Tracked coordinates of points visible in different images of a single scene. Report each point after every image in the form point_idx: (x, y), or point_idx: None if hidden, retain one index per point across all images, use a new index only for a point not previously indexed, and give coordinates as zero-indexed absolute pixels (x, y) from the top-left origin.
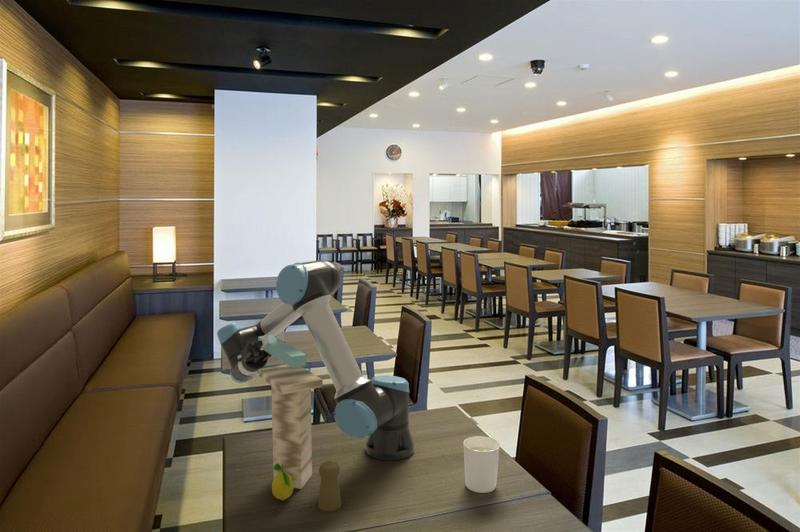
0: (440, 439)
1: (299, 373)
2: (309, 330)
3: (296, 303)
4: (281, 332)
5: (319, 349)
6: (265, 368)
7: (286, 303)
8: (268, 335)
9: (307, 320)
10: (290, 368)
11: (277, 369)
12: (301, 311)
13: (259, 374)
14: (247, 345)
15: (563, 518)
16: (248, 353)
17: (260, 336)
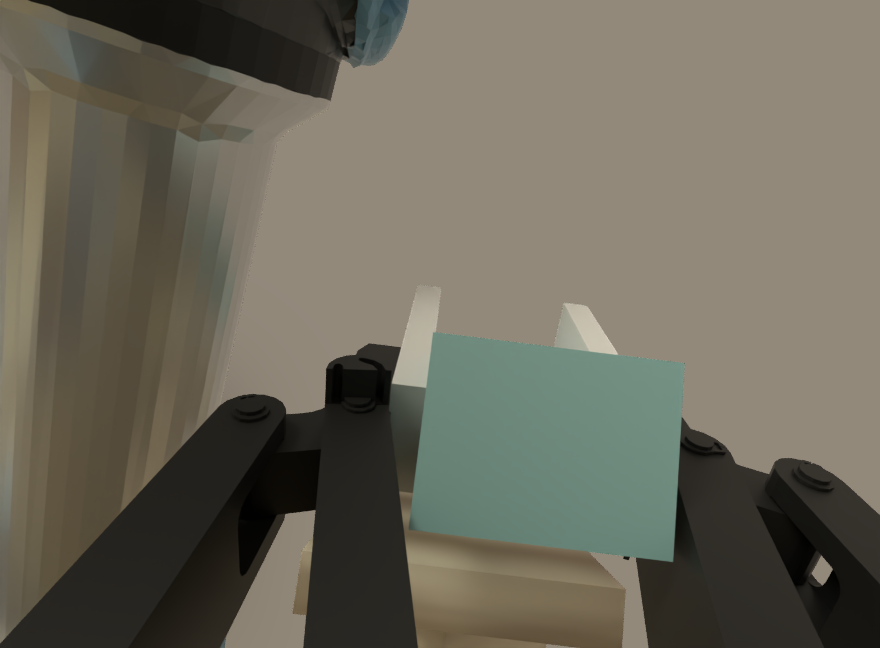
0: None
1: (405, 500)
2: (231, 274)
3: (341, 59)
4: (433, 288)
5: (215, 402)
6: (570, 577)
7: (399, 29)
8: (485, 340)
9: (262, 199)
10: (406, 529)
11: (490, 545)
12: (300, 124)
13: (618, 631)
14: (845, 494)
15: None
16: (818, 618)
17: (636, 358)
